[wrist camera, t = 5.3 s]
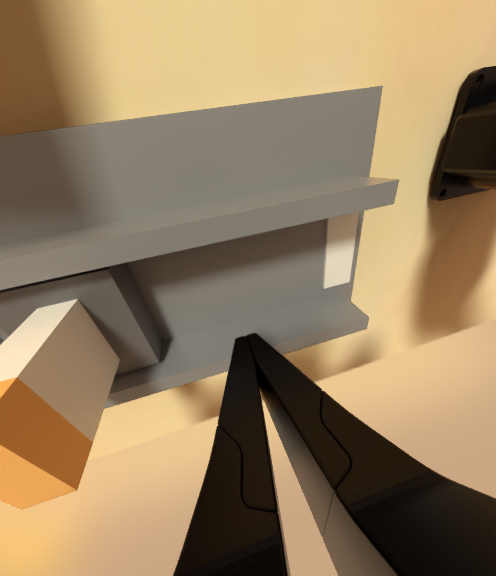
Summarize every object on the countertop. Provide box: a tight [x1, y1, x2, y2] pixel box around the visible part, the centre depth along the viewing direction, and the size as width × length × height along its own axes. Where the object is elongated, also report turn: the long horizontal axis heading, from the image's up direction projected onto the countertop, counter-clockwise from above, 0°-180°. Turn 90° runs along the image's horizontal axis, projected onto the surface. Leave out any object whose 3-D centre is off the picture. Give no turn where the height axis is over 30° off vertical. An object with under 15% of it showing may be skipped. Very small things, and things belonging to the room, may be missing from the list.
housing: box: [0, 86, 399, 409], centre depth 12 cm, size 24×16×4 cm, turn 98°
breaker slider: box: [0, 263, 162, 509], centre depth 9 cm, size 5×6×7 cm
